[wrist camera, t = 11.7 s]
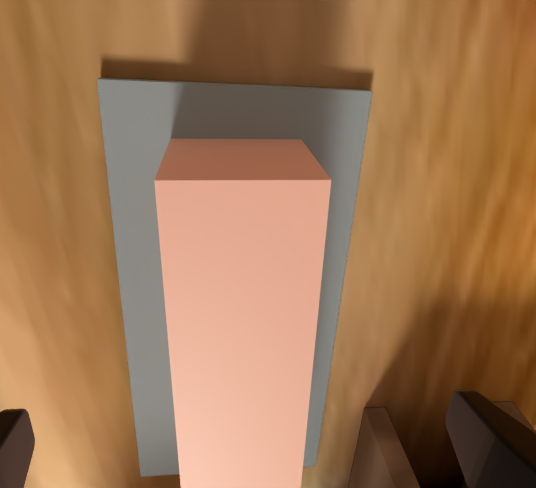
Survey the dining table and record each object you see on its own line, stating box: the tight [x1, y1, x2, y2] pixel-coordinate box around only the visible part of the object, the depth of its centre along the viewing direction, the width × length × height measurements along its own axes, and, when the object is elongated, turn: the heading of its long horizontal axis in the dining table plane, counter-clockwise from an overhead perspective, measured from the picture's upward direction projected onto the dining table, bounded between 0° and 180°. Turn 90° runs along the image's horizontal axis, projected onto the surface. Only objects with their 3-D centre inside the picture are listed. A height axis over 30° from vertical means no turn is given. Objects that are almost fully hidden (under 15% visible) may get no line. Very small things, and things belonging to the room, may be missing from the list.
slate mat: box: [97, 78, 372, 477], centre depth 21 cm, size 10×21×1 cm, turn 176°
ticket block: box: [154, 139, 331, 488], centre depth 18 cm, size 5×17×5 cm, turn 178°
